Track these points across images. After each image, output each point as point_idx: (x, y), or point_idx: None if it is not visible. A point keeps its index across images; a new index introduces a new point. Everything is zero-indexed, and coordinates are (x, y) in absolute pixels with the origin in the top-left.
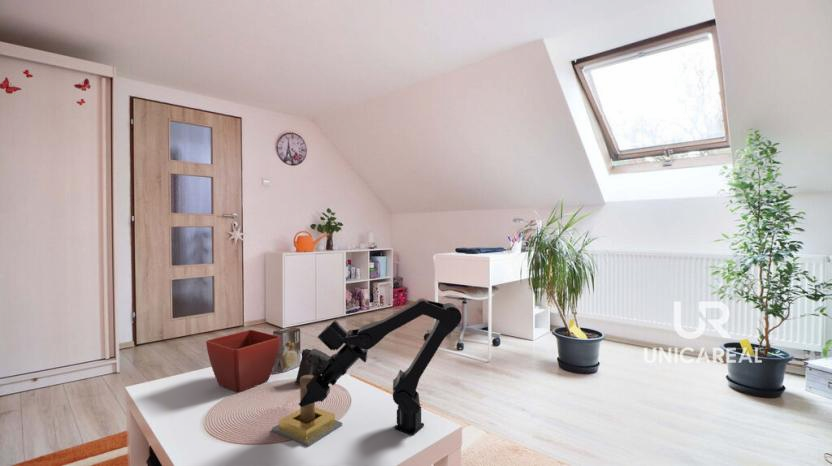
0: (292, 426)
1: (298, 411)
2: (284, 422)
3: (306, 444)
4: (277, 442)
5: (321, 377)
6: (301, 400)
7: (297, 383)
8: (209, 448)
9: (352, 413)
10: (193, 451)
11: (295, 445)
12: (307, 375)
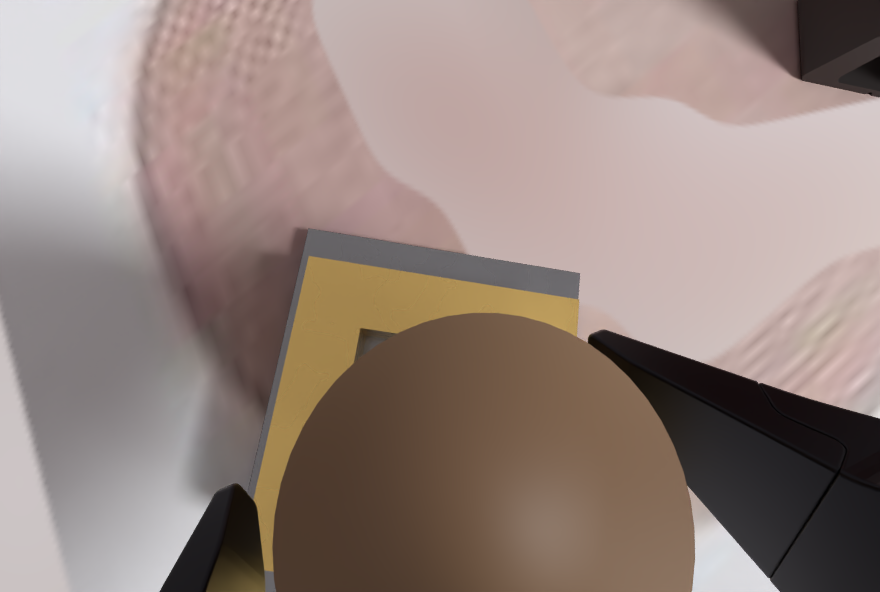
0: (278, 400)
1: (465, 298)
2: (297, 311)
3: None
4: (215, 354)
5: (840, 523)
6: (174, 570)
7: (803, 8)
8: (52, 65)
9: (711, 577)
10: (6, 17)
11: (220, 486)
12: (609, 412)
